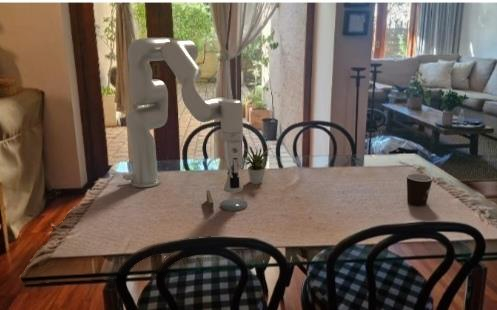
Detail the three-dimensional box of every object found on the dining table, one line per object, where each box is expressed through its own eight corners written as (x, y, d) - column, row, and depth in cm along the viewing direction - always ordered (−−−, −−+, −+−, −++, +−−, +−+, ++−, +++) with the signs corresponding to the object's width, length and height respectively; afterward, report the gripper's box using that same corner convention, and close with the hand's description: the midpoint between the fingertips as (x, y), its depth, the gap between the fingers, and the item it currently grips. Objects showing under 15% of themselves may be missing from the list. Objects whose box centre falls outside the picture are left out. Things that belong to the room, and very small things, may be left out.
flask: (241, 193, 148) (240, 166, 146) (221, 192, 150) (220, 165, 147) (245, 186, 155) (245, 160, 152) (226, 185, 157) (225, 159, 154)
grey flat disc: (222, 212, 149) (221, 210, 149) (218, 201, 158) (218, 200, 158) (249, 209, 151) (249, 208, 150) (244, 199, 160) (244, 197, 160)
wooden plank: (210, 213, 148) (209, 202, 147) (206, 200, 159) (206, 190, 158) (213, 213, 148) (213, 202, 147) (210, 200, 160) (209, 190, 158)
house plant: (230, 185, 175) (229, 146, 170) (243, 174, 187) (243, 138, 182) (263, 189, 170) (263, 150, 165) (274, 178, 182) (274, 141, 177)
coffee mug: (417, 209, 149) (420, 182, 146) (399, 201, 156) (401, 175, 154) (440, 203, 154) (443, 177, 151) (421, 195, 162) (424, 170, 159)
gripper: (247, 140, 140) (248, 192, 145) (238, 129, 156) (239, 176, 161) (224, 142, 138) (226, 194, 143) (218, 131, 154) (220, 178, 159)
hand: (233, 184), depth 152 cm, fingers closed on flask, 4 cm apart
